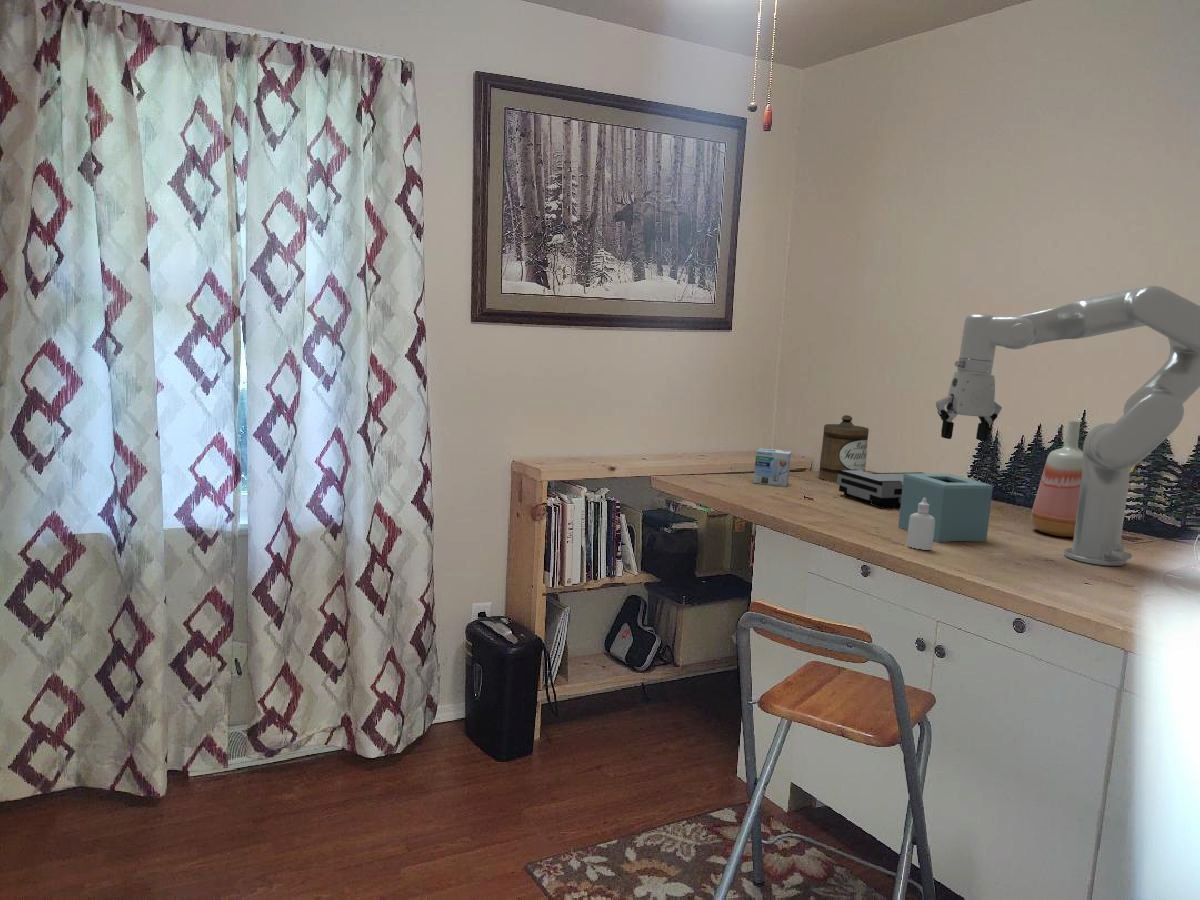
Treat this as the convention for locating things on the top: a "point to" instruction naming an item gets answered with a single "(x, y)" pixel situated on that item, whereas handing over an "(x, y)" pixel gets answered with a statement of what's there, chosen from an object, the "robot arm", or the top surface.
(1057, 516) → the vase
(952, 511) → the drop box
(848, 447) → the wooden container
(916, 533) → the eye dropper bottle
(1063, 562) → the top surface
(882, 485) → the game console
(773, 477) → the light bulb box
